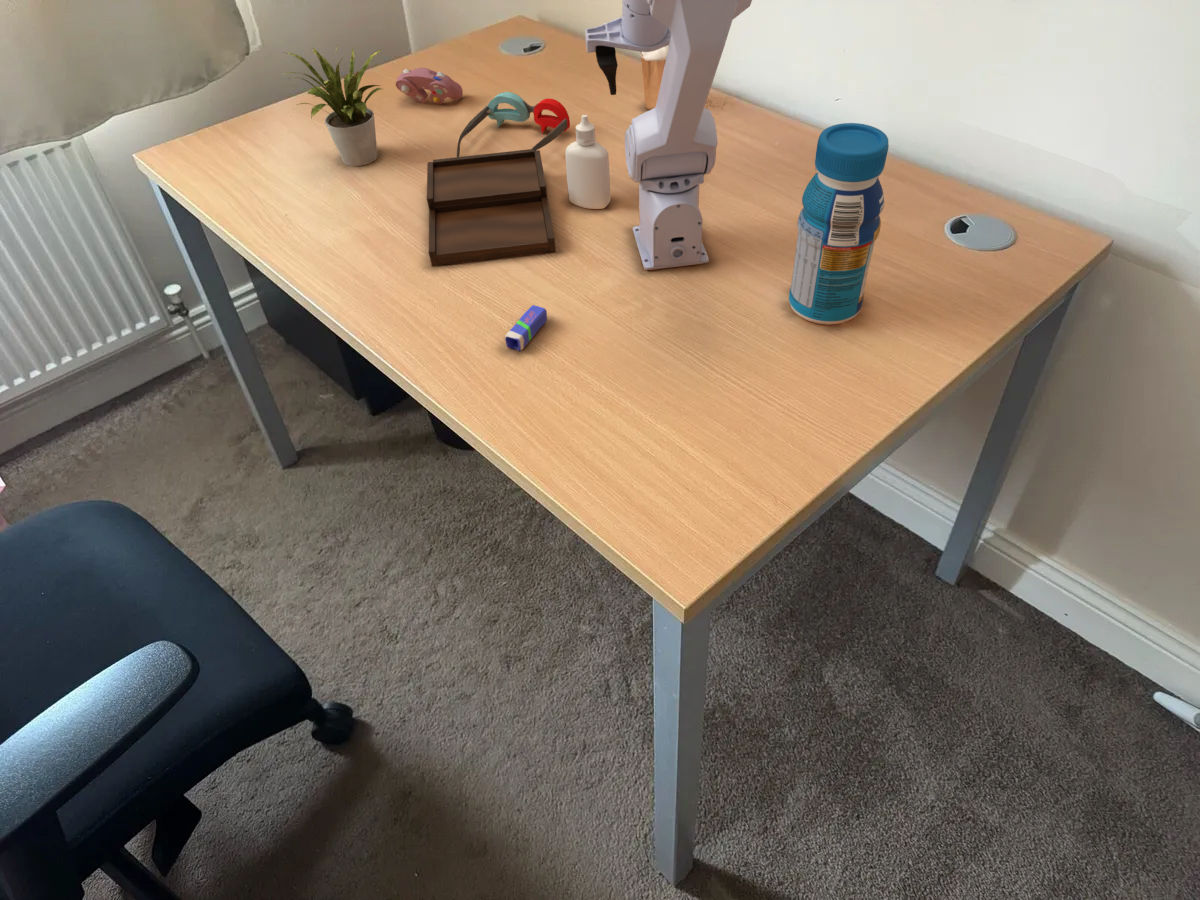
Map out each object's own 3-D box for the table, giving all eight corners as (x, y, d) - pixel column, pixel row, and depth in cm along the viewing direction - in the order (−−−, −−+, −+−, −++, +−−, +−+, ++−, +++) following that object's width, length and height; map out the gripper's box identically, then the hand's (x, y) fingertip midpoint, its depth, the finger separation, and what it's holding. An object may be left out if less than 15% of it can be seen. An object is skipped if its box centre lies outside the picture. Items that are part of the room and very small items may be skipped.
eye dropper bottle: (591, 188, 117) (586, 103, 108) (615, 205, 114) (611, 118, 105) (564, 199, 115) (557, 113, 107) (588, 216, 112) (582, 129, 103)
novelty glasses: (575, 132, 129) (572, 100, 125) (529, 179, 120) (525, 145, 116) (495, 119, 133) (491, 87, 130) (445, 163, 124) (439, 130, 121)
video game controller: (404, 110, 141) (387, 80, 134) (412, 87, 142) (396, 56, 135) (459, 115, 138) (444, 85, 132) (466, 92, 140) (452, 61, 133)
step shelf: (555, 252, 107) (553, 224, 104) (431, 266, 106) (425, 238, 103) (542, 174, 120) (539, 147, 118) (432, 186, 120) (426, 160, 117)
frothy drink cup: (631, 104, 134) (630, 39, 127) (661, 97, 136) (662, 31, 128) (644, 116, 131) (644, 49, 124) (675, 108, 133) (676, 41, 125)
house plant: (285, 178, 123) (246, 64, 111) (328, 134, 132) (296, 24, 121) (375, 186, 120) (345, 69, 109) (412, 140, 130) (388, 28, 118)
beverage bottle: (771, 306, 97) (791, 139, 82) (815, 274, 101) (842, 109, 86) (834, 337, 93) (867, 167, 78) (877, 302, 96) (916, 134, 82)
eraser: (505, 348, 94) (503, 334, 93) (533, 318, 98) (531, 303, 96) (520, 353, 93) (518, 339, 92) (548, 322, 97) (546, 308, 95)
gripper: (701, -33, 102) (689, 57, 114) (581, -21, 101) (582, 68, 113) (712, 10, 99) (698, 98, 112) (589, 22, 98) (589, 109, 111)
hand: (640, 86), depth 112 cm, fingers open, 7 cm apart
